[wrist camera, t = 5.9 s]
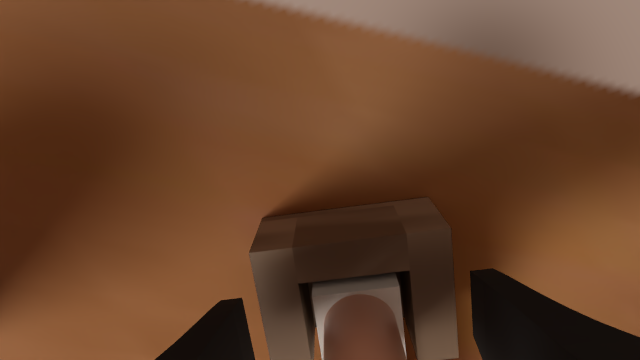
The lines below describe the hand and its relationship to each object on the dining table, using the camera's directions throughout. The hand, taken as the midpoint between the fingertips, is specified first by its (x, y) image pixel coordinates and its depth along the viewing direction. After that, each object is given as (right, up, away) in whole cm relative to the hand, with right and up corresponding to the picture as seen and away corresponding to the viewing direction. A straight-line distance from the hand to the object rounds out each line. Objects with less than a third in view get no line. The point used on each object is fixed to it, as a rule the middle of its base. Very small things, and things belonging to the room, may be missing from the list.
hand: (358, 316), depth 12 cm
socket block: (0, +1, +4) cm, 4 cm away
